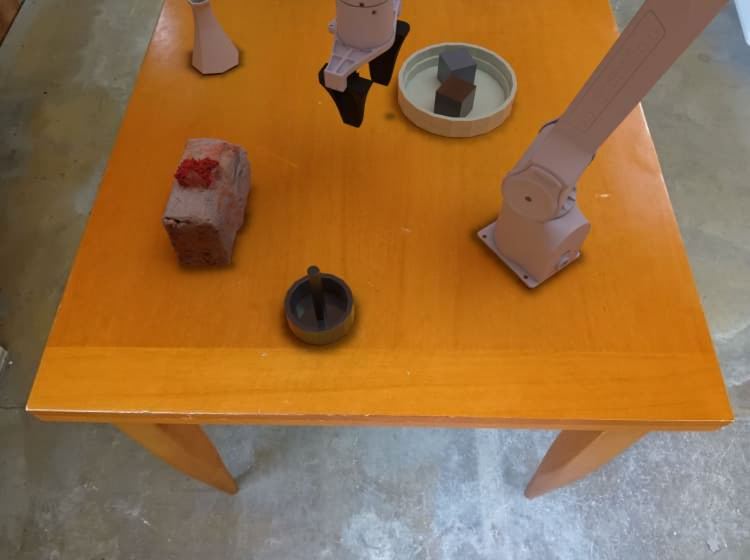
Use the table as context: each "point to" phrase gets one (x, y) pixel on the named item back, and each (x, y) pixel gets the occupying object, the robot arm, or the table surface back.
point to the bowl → (422, 84)
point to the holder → (304, 314)
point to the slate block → (456, 65)
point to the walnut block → (454, 98)
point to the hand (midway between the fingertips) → (366, 102)
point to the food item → (207, 201)
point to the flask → (210, 41)
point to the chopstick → (317, 292)
